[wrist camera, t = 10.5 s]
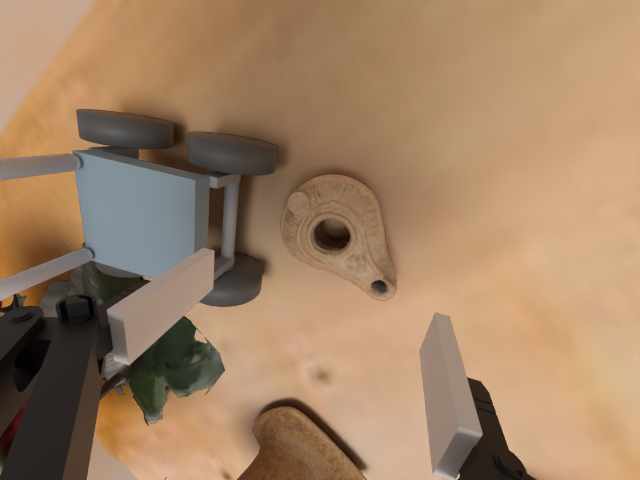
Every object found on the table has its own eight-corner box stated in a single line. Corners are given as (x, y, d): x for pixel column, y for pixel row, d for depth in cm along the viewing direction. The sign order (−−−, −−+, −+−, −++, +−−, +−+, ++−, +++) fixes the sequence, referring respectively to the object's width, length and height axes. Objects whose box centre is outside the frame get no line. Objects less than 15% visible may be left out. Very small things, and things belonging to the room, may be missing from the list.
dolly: (125, 111, 29) (-370, 79, 10) (288, 146, 27) (42, 188, 8) (134, 240, 35) (-179, 376, 16) (271, 278, 32) (98, 494, 13)
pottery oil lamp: (359, 305, 31) (313, 335, 26) (311, 203, 32) (259, 212, 27) (434, 280, 25) (394, 313, 20) (371, 157, 26) (318, 156, 21)
